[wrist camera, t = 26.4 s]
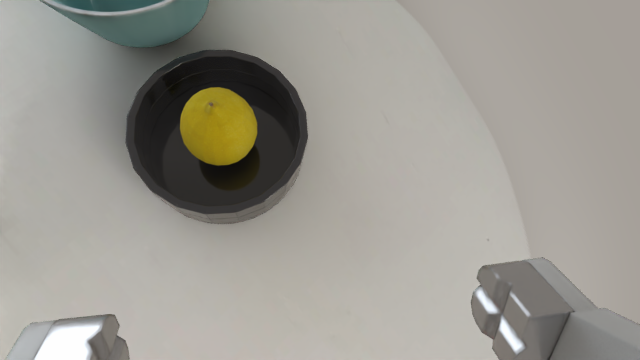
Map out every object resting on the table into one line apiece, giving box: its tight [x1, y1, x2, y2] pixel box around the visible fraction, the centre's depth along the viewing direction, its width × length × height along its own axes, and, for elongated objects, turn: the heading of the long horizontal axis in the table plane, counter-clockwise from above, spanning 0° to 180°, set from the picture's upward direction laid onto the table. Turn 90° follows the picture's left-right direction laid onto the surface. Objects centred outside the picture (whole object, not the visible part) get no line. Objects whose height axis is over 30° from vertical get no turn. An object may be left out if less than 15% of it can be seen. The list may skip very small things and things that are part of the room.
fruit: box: [180, 87, 257, 166], centre depth 29 cm, size 6×6×8 cm
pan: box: [126, 50, 308, 224], centre depth 31 cm, size 13×13×4 cm
